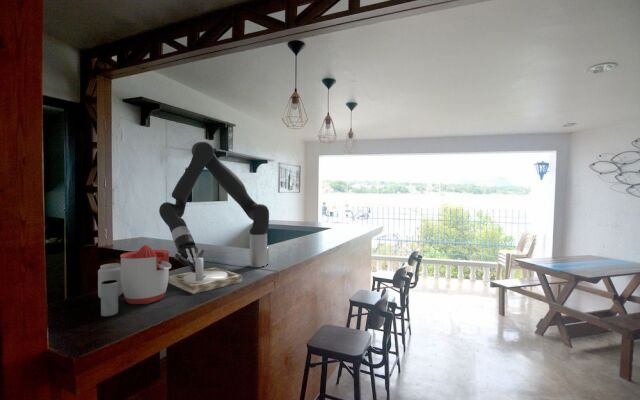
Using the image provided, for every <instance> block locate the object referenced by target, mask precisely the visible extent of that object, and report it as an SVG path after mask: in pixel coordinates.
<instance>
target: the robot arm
mask: <svg viewBox="0 0 640 400" xmlns="http://www.w3.org/2000/svg"><path fill="white" fill-rule="evenodd" d="M191 154H192V158H191V159H190V160H191V161H190V162H189V165H188V166H187V168H186V169H185V171H184V172H183V173H182V175H181V177H180V178H179V179H178V181H177V182H176V185H175V187H174V188H173V190H172V193H171V198H173V199H174V200H175V203H172V202H167V201H165V202H163V203H161V204H160V206H159V210H158V211H159V216H160V217H161V219H162V220H163V221H164V223H165V224H166V226H167V227H168V228H169V232H170V234H171V238H172V241H173V244H174V245H175V249H176V251H177V253H175V255H174V257H173V259H174V260H175V261H177V262H178V263H180V264H182V265H183V266H185V267H186V266H189V268H190V270H191V271H190V272H193V273H195V259H196V258H203V256H204V255H203V254H204V252H205V250H204V249H201V250H200V249H199V248H198V247H197V245H196V242H195V240H194V238H193V235H192V233H191V231H190V229H189V228H188V225H187V223H186V221H185V220H184V218H182V217H183V216H184V213H185V211H186V206H187V202H188V198H189V196H190V194H191V192H192V191H193V189H194V186H195V184H196V183H197V180H198V178H199V177H200V175H201V173H202V172H203V171H204V169H205V168H206V169H207V170H208V172H209V173H210V174H211V175H212V176H213V178H214V179H215V181H217V183H218V184H219V186H221V188H222V189H224V191H225V192H226V193H227V194H228V195H229V196H230V197H231V198H232V199H233V200H234V201H235V202H236V203H237V204H238V205H239V207H240V208H241V209H242V210H243V212H245V214H246V216H247V217H248V218H249V219H250V220H252V221H253V222H252V227H251V228H249V267H250V268H263V267H262V266H264V267H267V266H268V265H267V264H269V263H270V262H269V258H270V257H269V256H270V254H269V253H270V252H269V250H270V249H269V247H268V231H269V226H270V211H269V208H268V207H267V205H265V204H263V203H262V204H261V203H257V202H256V201H254V200H253V199H252V197H251V196H250V195H249V193H248V192H247V188H246V186H245V184H244V183H243V181H242V180H241V179H240V177H238V176H237V175H236V174H235V172H233V171H232V170H231V169H230V167H229V168H228V166H226V165H225V164H224V163H223V162H221V160H220V159H219V158H218V157H217V156H216V154H215V148H214V147H213V145H212V144H211V143H209V142H207V141H198V142H196V143H194V144H193V145H192V147H191ZM266 265H267V266H266ZM269 265H270V264H269Z"/></svg>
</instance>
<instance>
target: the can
mask: <svg viewBox="0 0 640 400" xmlns="http://www.w3.org/2000/svg"><path fill="white" fill-rule="evenodd" d="M99 267H100V268H99V269H98V270H97V294H98V295H97V296H98V298H99V299H101V282H103V281H107V280H118V298H119V297H120V296H121V295H122V294H124V293H123V290H122V286H121V263H115V262H114V263H107V264H102V265H100V266H99Z"/></svg>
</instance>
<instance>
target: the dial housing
mask: <svg viewBox="0 0 640 400" xmlns="http://www.w3.org/2000/svg"><path fill="white" fill-rule="evenodd" d="M203 271H223V272H226V273H227V278H223V279H218V280H214V281H209V282H205V283H200V284H192V283H190V282H188V281H185V280H183V277H184V276H185V275H187V274H190V273H193V272H192V271H190V272H183V273H177V274H172V275H169V278H168V284H170V285H172V286H174V287H177V288H179V289H180V290H183V291H185V292H187V293H190V294H192V295H196V294H200V293H202V292H208V291H211V290H215V289H218V288H219V289H220V288H224V287H228V286H232V285H236V284H241V283H242V282H243V275H242V274H241V273H240V274H239V273H235V272H232V271H229V270H226V269H222V268H220V267H216V266H215V267H210V268H209V267H208V268H205V269H204V268H203Z"/></svg>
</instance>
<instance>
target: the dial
mask: <svg viewBox="0 0 640 400" xmlns="http://www.w3.org/2000/svg"><path fill="white" fill-rule="evenodd" d="M203 270H204V258H203V257H202V258H198V257H196V259H195V273H190V274H187V275H185V276H184V277H183V280H185V281H188V282H190V283H192V284H200V283H205V282H209V281H214V280H218V279H223V278H227V273H226V272H223V271H203Z"/></svg>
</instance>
